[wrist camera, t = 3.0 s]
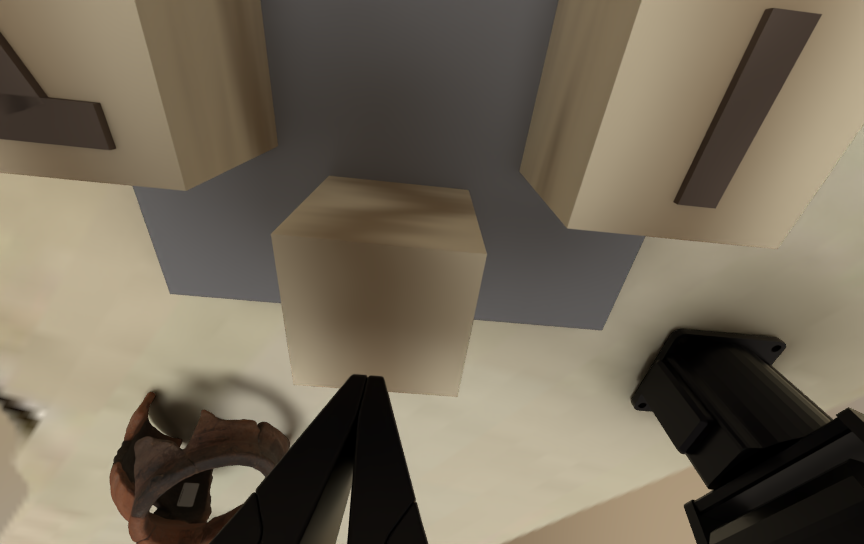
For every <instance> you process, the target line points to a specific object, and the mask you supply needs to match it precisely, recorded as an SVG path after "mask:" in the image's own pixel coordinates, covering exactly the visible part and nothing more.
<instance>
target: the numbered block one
mask: <svg viewBox="0 0 864 544" xmlns="http://www.w3.org/2000/svg"><path fill="white" fill-rule="evenodd" d="M863 125H864V0H559V1H558V5H557V10H556V14H555V18H554V23H553V27H552V32H551V36H550V40H549V45H548V49H547V53H546V58H545V62H544V66H543V71H542V75H541V79H540V84H539V88H538V92H537V97H536V101H535V106H534V110H533V114H532V119H531V123H530V127H529V132H528V136H527V140H526V145H525V149H524V153H523V158H522V162H521V166H520V171H519V172H520V173H521V174H522V175H523V177H524V178H525V179H526V180H527V181H528V182H529V184H530V185H531V186H532V187H533V188H534V190H535V191H536V192H537V193H538V194H539V196H540V197H541V198H542V199H543V200H544V202H545V203H546V204H547V205H548V206H549V208H550V209H551V210H552V211H553V212H554V214H555V215H556V216H557V217H558V218H559V219H560V221H561V222H562V223H563V224H564V225H565V227H566V228H568V229H578V230H588V231H598V232H609V233H619V234H629V235H639V236H649V237H659V238H670V239H680V240H690V241H700V242H710V243H720V244H731V245H741V246H751V247H761V248H771V249H778V248H779V246H780V245H781V243H782V242H783V241H784V239H785V238H786V236H787V235H788V233H789V232H790V230H791V229H792V227H793V226H794V225H795V223H796V222H797V220H798V219H799V217H800V216H801V214H802V213H803V212H804V210H805V209H806V207H807V206H808V204H809V203H810V201H811V200H812V199H813V197H814V196H815V194H816V193H817V191H818V190H819V188H820V187H821V185H822V184H823V183H824V181H825V180H826V178H827V177H828V175H829V174H830V172H831V171H832V170H833V168H834V167H835V165H836V164H837V162H838V161H839V159H840V158H841V156H842V155H843V154H844V152H845V151H846V149H847V148H848V146H849V145H850V143H851V142H852V141H853V139H854V138H855V136H856V135H857V133H858V132H859V130H860V129H861V128H862V126H863Z"/></svg>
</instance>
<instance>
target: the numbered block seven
mask: <svg viewBox="0 0 864 544" xmlns="http://www.w3.org/2000/svg"><path fill="white" fill-rule="evenodd" d="M277 146H278V141H277V132H276V124H275V116H274V108H273V100H272V91H271V83H270V75H269V67H268V59H267V50H266V42H265V34H264V26H263V18H262V9H261V1H260V0H0V173H8V174H19V175H29V176H39V177H49V178H59V179H69V180H80V181H90V182H100V183H110V184H120V185H131V186H141V187H151V188H161V189H171V190H181V191H187V190H189V189H191V188H193V187H195V186H197V185H199V184H201V183H203V182H206V181H208V180H210V179H212V178H214V177H216V176H218V175H220V174H222V173H224V172H226V171H228V170H230V169H232V168H234V167H236V166H238V165H240V164H242V163H245V162H247V161H249V160H251V159H253V158H255V157H257V156H259V155H261V154H263V153H265V152H267V151H269V150H271V149H273V148H275V147H277Z"/></svg>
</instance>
